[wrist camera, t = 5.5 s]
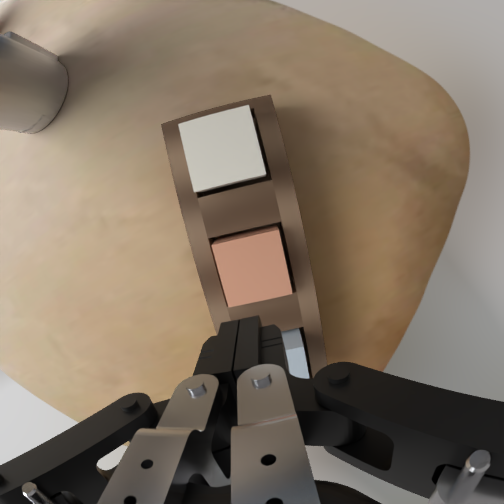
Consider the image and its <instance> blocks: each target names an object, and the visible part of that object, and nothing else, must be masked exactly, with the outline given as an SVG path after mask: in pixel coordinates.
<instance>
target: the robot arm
mask: <svg viewBox="0 0 504 504" xmlns="http://www.w3.org/2000/svg"><path fill="white" fill-rule="evenodd" d="M67 86H68V74H67V71H66V69H65V67H64V66H63V65H62V64H61V63H59V62H58V56H57V55H55V54H53V53H52V52H50V51H48V50H46V49H44V48H42V47H40V46H39V45H37V44H35V43H33V42H31V41H29V40H27V39H25V38H23V37H21V36H19V35H17V34H15V33H13V32H7V33H5V34H4V35H2V34H0V129H1V130H9V131H16V132H20V133H30V134H31V133H36V132H38V131H40V130H42V129H43V128H45V127H46V126H47V125H48V124H49V123H50V122H51V121H52V120H53V118H54V117H55V116H56V114H57V113H58V111H59V109H60V107H61V106H62V103H63V101H64V98H65V95H66V92H67ZM127 441H129V442H130V444H129V446H128V448H127V449H126V451H125V453H124V455H123V457H122V459H121V460H120V462H119V464H118V465H117V466H115V467H114V468H112V469H110V470H101V469H100V468H98V466H97V462H98V460H99V459H101V458H102V457H104V456H105V455H107V454H109V453H110V452H112V451H113V450H115V449H116V448H118V447H119V446H121V445H123V444H124V443H126V442H127ZM305 445H311V446H324V448H325V450H326V451H327V452H328V453H330V454H332V455H334V456H335V457H337V458H339V459H341V460H343V461H345V462H347V463H349V464H351V465H353V466H354V467H357V468H359V469H360V470H363V471H365V472H367V473H369V474H371V475H373V476H375V477H377V478H379V479H382V480H384V481H386V482H388V483H391V484H393V485H395V486H398V487H400V488H402V489H405V490H407V491H410V492H413V493H415V494H418V495H420V496H423V497H425V498H428V499H429V501H428V504H504V402H501V401H496V400H491V399H486V398H481V397H477V396H472V395H468V394H463V393H459V392H454V391H451V390H446V389H442V388H438V387H434V386H431V385H427V384H423V383H419V382H416V381H412V380H408V379H405V378H401V377H398V376H394V375H390V374H387V373H384V372H381V371H377V370H374V369H371V368H368V367H364V366H361V365H358V364H355V363H351V362H338V363H333V364H330V365H327V366H325V367H323V368H322V369H320V370H319V371H318V372H317V373H316V374H315V376H314V378H299V377H295V376H293V375H291V374H290V371H289V365H288V359H287V355H286V351H285V346H284V342H283V338H282V333H281V329H280V328H278V327H277V326H276V325H275V324H272V325H268V326H263V327H262V323H261V319H260V316H259V315H256V316H252V317H247V318H242V319H237V320H232V321H227V322H222V323H221V324H220V328H219V332H218V335H217V336H211V337H210V338H209V339H208V340H207V341H206V342H205V343H204V344H203V346H202V349H201V353H200V355H199V359H198V361H197V364H196V367H195V370H194V373H193V376H191V377H189V378H187V379H185V380H183V381H182V382H181V383H180V384H179V385H178V386H177V387H176V389H175V391H174V393H173V395H172V397H171V399H168V400H164V401H161V402H157V403H154V404H153V403H152V401H151V399H150V398H149V396H148V395H146V394H144V393H132V394H128V395H126V396H123V397H122V398H120V399H118V400H117V401H115V402H113V403H112V404H110V405H108V406H107V407H105V408H104V409H102V410H100V411H99V412H97V413H95V414H94V415H92V416H90V417H88V418H87V419H85V420H83V421H82V422H80V423H78V424H76V425H75V426H73V427H71V428H70V429H68V430H66V431H64V432H62V433H61V434H59V435H57V436H55V437H54V438H52V439H50V440H48V441H46V442H45V443H43V444H41V445H39V446H37V447H36V448H34V449H32V450H30V451H28V452H26V453H24V454H22V455H20V456H18V457H16V458H14V459H12V460H10V461H8V462H6V463H4V464H2V465H0V504H381V503H379V502H377V501H375V500H373V499H372V498H370V497H368V496H366V495H364V494H363V493H361V492H359V491H357V490H355V489H353V488H350V487H348V486H345V485H341V484H338V483H334V482H328V481H320V480H314V477H313V474H312V470H311V466H310V463H309V459H308V455H307V451H306V448H305Z"/></svg>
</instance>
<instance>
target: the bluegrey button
mask: <svg viewBox="0 0 504 504" xmlns="http://www.w3.org/2000/svg"><path fill="white" fill-rule="evenodd" d="M281 333H282V338H283V342H284V346H285V351H286V355H287V359H288V365H289V371H290V374H291V375H293V376H295V377H299V378H309V373H308V368H307V362H306V357H305V352H304V346H303V342H302V338H301V335H300V331H299V328H295V329H291V330H286V331H282V332H281Z"/></svg>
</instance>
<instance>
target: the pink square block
mask: <svg viewBox="0 0 504 504" xmlns="http://www.w3.org/2000/svg"><path fill="white" fill-rule="evenodd" d="M212 249H213V253H214V257H215V260H216V264H217V268H218V271H219V275H220V279H221V282H222V286H223V289H224V293H225V296H226V300H227V303H228V307H234V306H239V305H244V304H249V303H253V302H258V301H263V300H267V299H272V298H277V297H281V296H286V295H290V294H292V289H291V284H290V279H289V275H288V270H287V265H286V261H285V256H284V251H283V247H282V242H281V238H280V233H279V229H278V227H277V225H276V224H274V225H270V226H265V227H261V228H256V229H252V230H248V231H244V232H239V233H235V234H231V235H227V236H222V237H218V238H217V239H216V241H215V242H214V243H213V244H212Z"/></svg>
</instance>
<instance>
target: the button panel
mask: <svg viewBox="0 0 504 504" xmlns="http://www.w3.org/2000/svg"><path fill="white" fill-rule="evenodd" d="M246 105H249V108H250V111H251V115H252V119H253V123H254V127H255V131H256V135H257V139H258V143H259V147H260V151H261V155H262V159H263V163H264V167H265V171H266V176H265V177H261V178H257V179H252V180H248V181H244V182H240V183H236V184H232V185H228V186H224V187H220V188H216V189H212V190H208V191H205V192H194V190H193V186H192V182H191V178H190V174H189V170H188V165H187V161H186V157H185V152H184V148H183V144H182V139H181V135H180V130H179V126H178V124H180V123H183V122H187V121H190V120H193V119H197V118H200V117H204V116H207V115H211V114H214V113H218V112H222V111H226V110H230V109H234V108H238V107H242V106H246ZM161 125H162V130H163V135H164V140H165V144H166V149H167V153H168V158H169V162H170V167H171V171H172V175H173V179H174V184H175V188H176V192H177V196H178V200H179V204H180V208H181V212H182V216H183V220H184V223H185V227H186V231H187V235H188V239H189V242H190V246H191V250H192V253H193V257H194V260H195V264H196V267H197V271H198V274H199V278H200V281H201V285H202V288H203V291H204V295H205V298H206V301H207V305H208V308H209V311H210V314H211V317H212V321H213V324H214V327H215V330H216V333H217V335H218V332H219V328H220V324H221V323H222V322H227V321H232V320H237V319H242V318H247V317H252V316H256V315H259V316H260V319H261V323H262V327H263V326H268V325H272V324H275V325H276V326H277V327H278V328H280V329H281V332H282V331H286V330H291V329H295V328H299V331H300V335H301V338H302V342H303V346H304V352H305V357H306V362H307V368H308V373H309V378H314V376H315V374H316V373H317V372H318V371H319V370H320V369H322V368H323V367H325V366H327V359H326V352H325V346H324V339H323V333H322V326H321V320H320V314H319V308H318V302H317V297H316V291H315V285H314V280H313V275H312V269H311V264H310V259H309V254H308V249H307V244H306V239H305V234H304V229H303V224H302V220H301V215H300V210H299V206H298V201H297V197H296V192H295V188H294V184H293V180H292V175H291V171H290V167H289V163H288V159H287V155H286V151H285V147H284V143H283V139H282V135H281V131H280V127H279V123H278V120H277V116H276V112H275V108H274V105H273V101H272V98H271V95H267V96H262V97H258V98H253V99H248V100H244V101H240V102H236V103H232V104H228V105H224V106H220V107H216V108H212V109H209V110H205V111H202V112H198V113H195V114H191V115H188V116H185V117H182V118H179V119H175V120H172V121H169V122H166V123H163V124H161ZM274 224H276V225H277V227H278V229H279V233H280V238H281V242H282V247H283V251H284V256H285V261H286V265H287V270H288V275H289V279H290V284H291V289H292V294H290V295H286V296H281V297H277V298H272V299H267V300H263V301H258V302H253V303H249V304H244V305H239V306H234V307H228V303H227V300H226V296H225V293H224V289H223V286H222V282H221V279H220V275H219V271H218V268H217V264H216V260H215V257H214V253H213V249H212V244H213V243H214V242H215V241H216V239H217V238H218V237H222V236H227V235H231V234H235V233H239V232H244V231H248V230H252V229H256V228H261V227H265V226H270V225H274Z"/></svg>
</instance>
